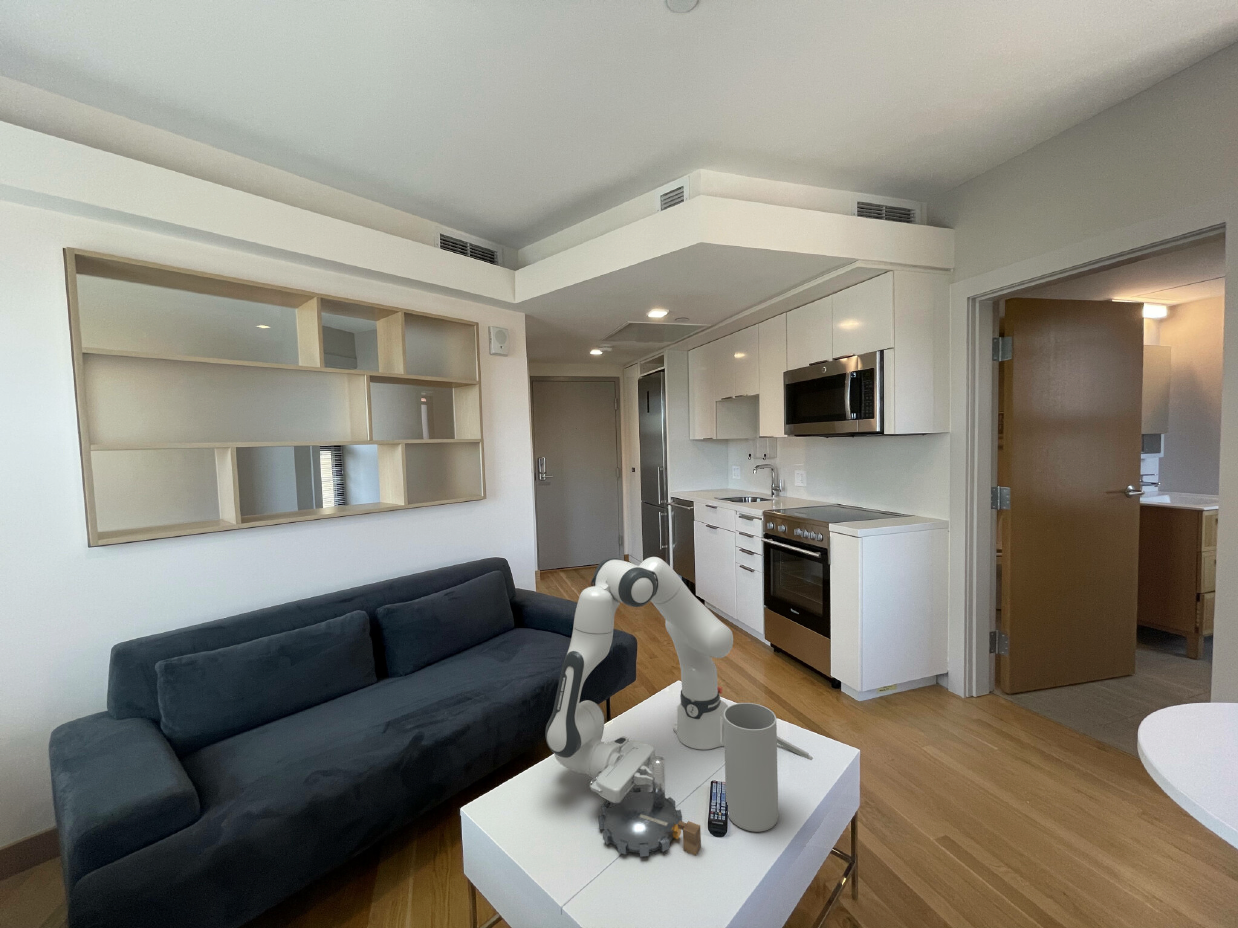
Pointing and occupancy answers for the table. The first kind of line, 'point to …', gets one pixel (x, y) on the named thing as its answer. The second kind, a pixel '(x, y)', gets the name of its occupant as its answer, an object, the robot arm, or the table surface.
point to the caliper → (793, 748)
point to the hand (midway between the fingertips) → (654, 779)
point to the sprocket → (642, 817)
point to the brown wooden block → (690, 837)
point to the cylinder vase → (751, 766)
